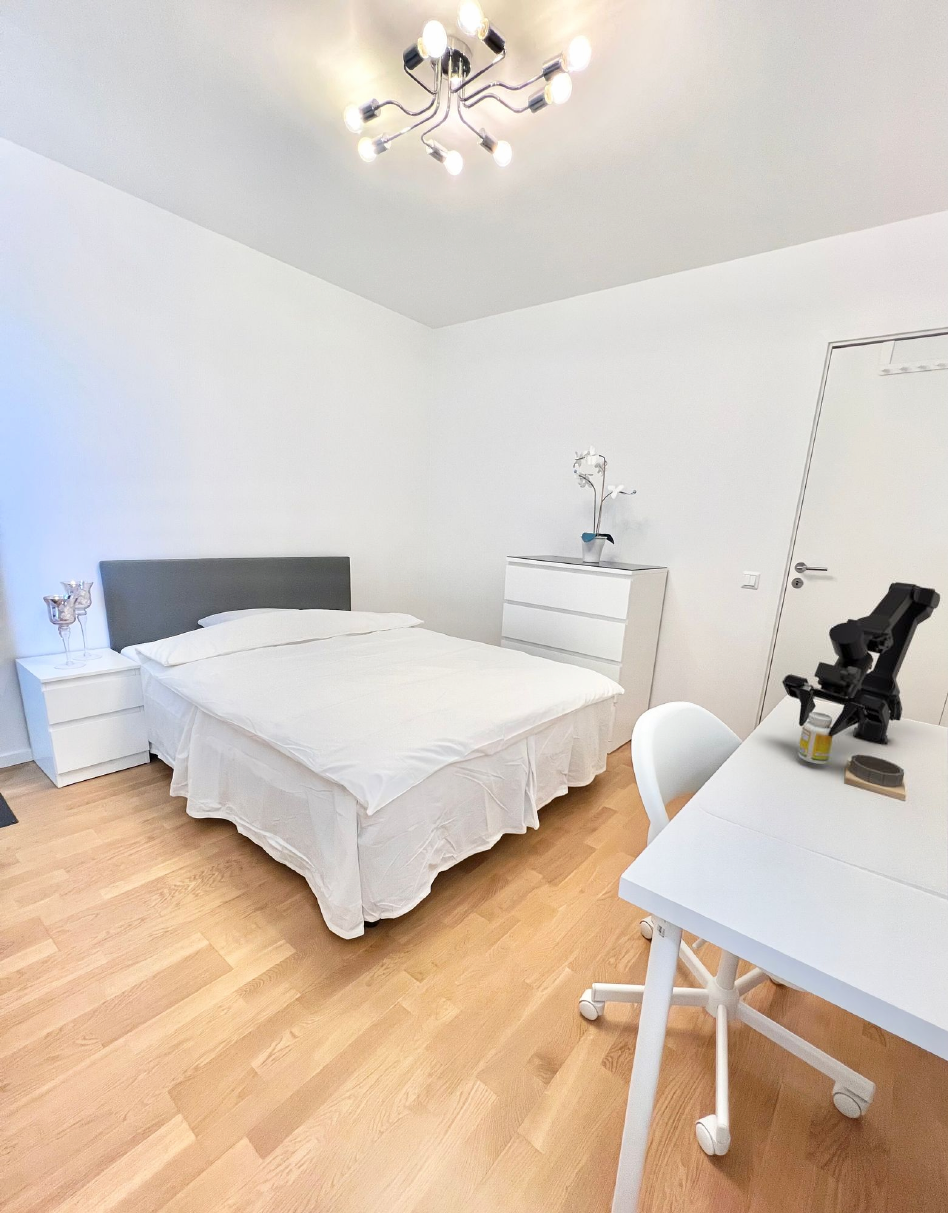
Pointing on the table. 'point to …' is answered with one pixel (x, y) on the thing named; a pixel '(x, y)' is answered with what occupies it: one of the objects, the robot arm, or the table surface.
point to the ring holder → (876, 776)
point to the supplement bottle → (816, 738)
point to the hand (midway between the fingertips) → (814, 730)
